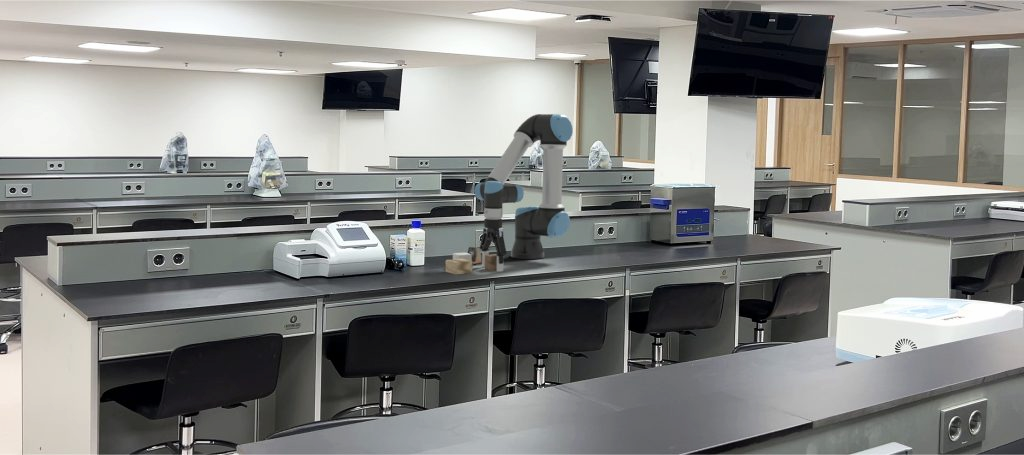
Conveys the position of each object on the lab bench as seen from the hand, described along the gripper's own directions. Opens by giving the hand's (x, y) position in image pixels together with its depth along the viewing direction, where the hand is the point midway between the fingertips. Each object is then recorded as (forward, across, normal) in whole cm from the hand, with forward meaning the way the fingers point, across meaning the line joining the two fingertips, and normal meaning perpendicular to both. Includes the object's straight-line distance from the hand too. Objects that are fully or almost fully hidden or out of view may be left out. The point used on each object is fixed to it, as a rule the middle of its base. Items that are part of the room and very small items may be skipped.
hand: (492, 268), depth 390 cm
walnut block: (0, 0, 0) cm, 0 cm away
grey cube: (0, -9, -10) cm, 13 cm away
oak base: (0, +1, -16) cm, 16 cm away
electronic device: (0, -17, -1) cm, 17 cm away
